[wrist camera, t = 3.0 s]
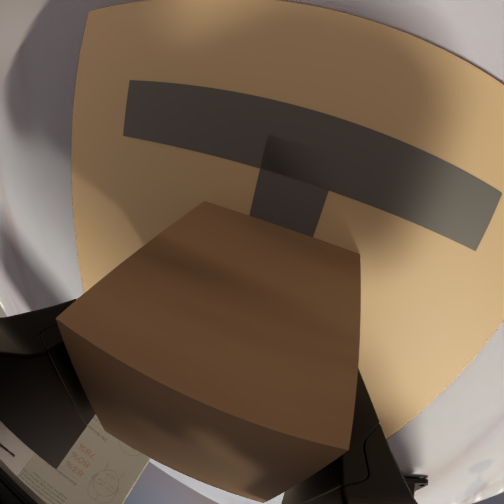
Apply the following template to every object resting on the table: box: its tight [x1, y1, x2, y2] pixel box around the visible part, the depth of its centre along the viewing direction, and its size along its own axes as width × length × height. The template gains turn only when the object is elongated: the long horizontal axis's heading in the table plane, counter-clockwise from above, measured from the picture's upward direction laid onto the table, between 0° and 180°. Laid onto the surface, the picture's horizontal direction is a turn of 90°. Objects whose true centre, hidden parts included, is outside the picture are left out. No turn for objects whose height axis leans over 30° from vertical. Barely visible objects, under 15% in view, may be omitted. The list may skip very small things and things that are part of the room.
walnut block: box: [56, 201, 361, 503], centre depth 7 cm, size 5×5×6 cm
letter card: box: [71, 0, 504, 439], centre depth 10 cm, size 18×18×1 cm
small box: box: [17, 414, 151, 504], centre depth 14 cm, size 8×6×13 cm
